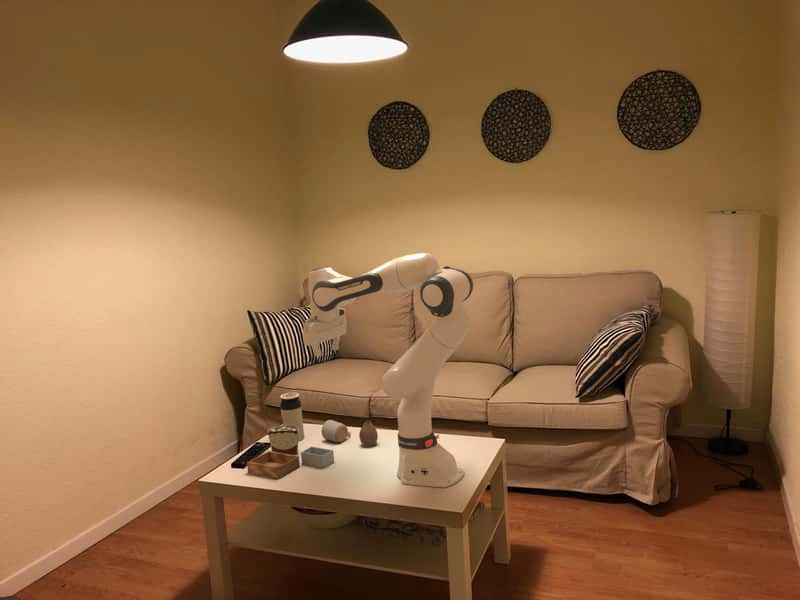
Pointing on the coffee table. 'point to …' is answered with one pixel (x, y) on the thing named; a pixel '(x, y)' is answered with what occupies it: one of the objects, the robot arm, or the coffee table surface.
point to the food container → (284, 439)
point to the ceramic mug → (335, 431)
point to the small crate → (317, 457)
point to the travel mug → (292, 412)
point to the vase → (368, 434)
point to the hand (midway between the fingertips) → (327, 352)
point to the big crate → (273, 464)
